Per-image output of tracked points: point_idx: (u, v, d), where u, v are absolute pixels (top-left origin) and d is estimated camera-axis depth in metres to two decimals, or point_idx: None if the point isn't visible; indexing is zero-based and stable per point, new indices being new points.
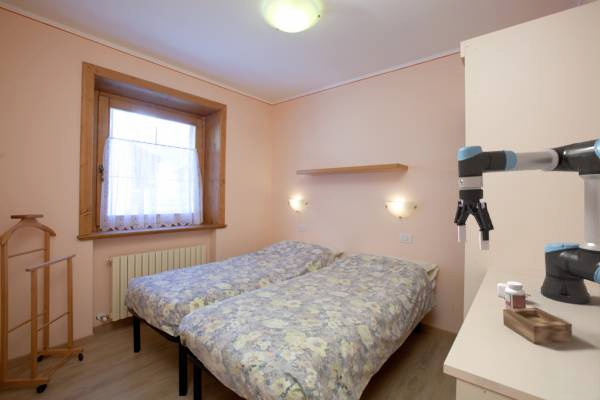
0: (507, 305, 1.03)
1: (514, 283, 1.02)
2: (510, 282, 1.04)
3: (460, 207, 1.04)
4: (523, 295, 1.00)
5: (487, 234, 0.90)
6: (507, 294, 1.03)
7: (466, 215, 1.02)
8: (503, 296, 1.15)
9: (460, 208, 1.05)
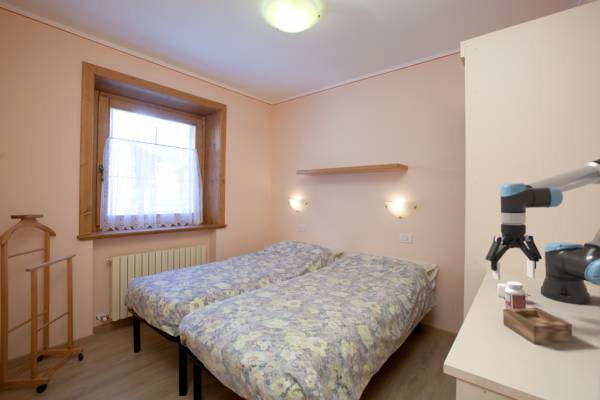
0: (507, 305, 1.03)
1: (514, 283, 1.02)
2: (510, 282, 1.04)
3: (526, 241, 1.03)
4: (523, 295, 1.00)
5: (492, 265, 1.02)
6: (507, 294, 1.03)
7: (523, 249, 1.02)
8: (503, 296, 1.15)
9: (526, 242, 1.03)
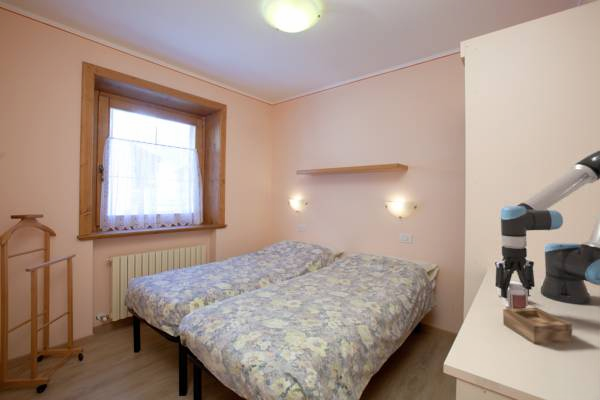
0: None
1: (514, 283, 1.02)
2: (510, 282, 1.04)
3: (525, 266, 1.04)
4: (523, 295, 1.00)
5: (503, 292, 1.03)
6: None
7: (520, 274, 1.03)
8: None
9: (525, 267, 1.04)
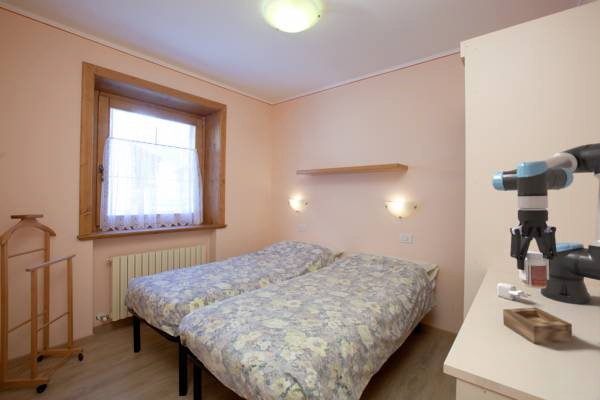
0: None
1: (533, 253, 0.87)
2: (528, 252, 0.89)
3: (545, 232, 0.88)
4: (544, 266, 0.85)
5: (519, 263, 0.87)
6: None
7: (540, 242, 0.87)
8: (503, 296, 1.15)
9: (546, 234, 0.88)
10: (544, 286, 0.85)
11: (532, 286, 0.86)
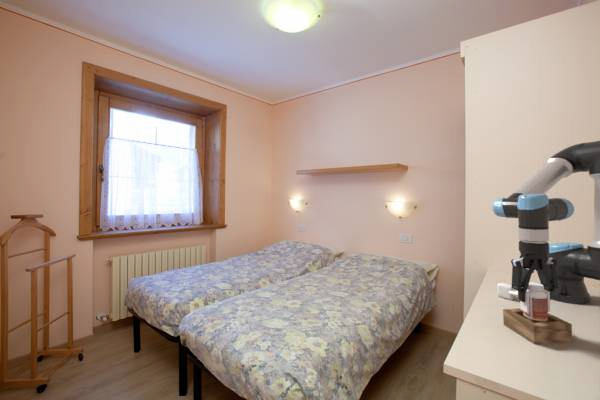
0: None
1: (534, 285, 0.87)
2: (529, 283, 0.89)
3: (546, 264, 0.88)
4: (545, 298, 0.85)
5: (520, 295, 0.87)
6: None
7: (541, 273, 0.87)
8: (503, 296, 1.15)
9: (547, 265, 0.88)
10: (545, 319, 0.85)
11: (533, 319, 0.86)
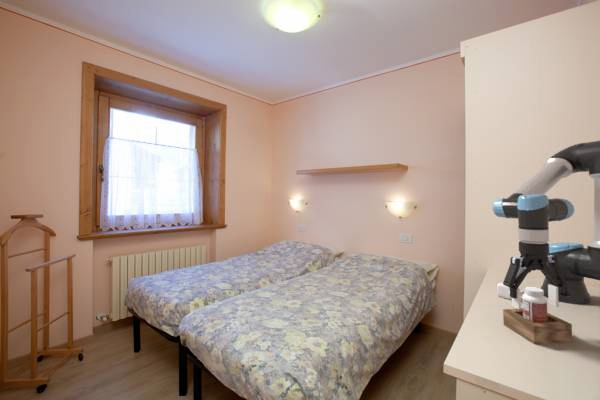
0: (525, 315, 0.88)
1: (534, 290, 0.87)
2: (528, 288, 0.89)
3: (548, 262, 0.88)
4: (545, 303, 0.85)
5: (512, 291, 0.87)
6: (525, 302, 0.88)
7: (545, 272, 0.87)
8: (503, 296, 1.15)
9: (549, 263, 0.88)
10: None
11: None
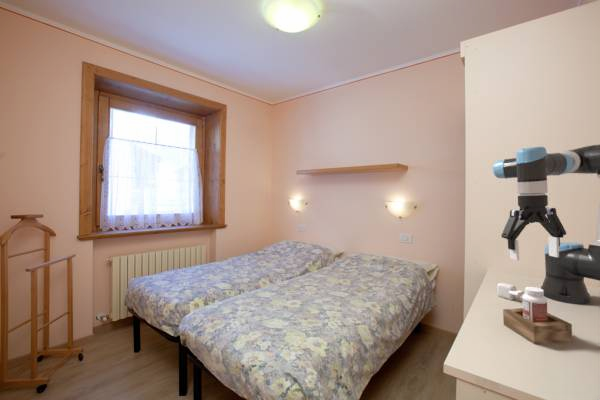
0: (525, 315, 0.88)
1: (534, 289, 0.87)
2: (529, 288, 0.89)
3: (547, 215, 0.89)
4: (545, 303, 0.85)
5: (510, 243, 0.88)
6: (525, 302, 0.88)
7: (544, 224, 0.88)
8: (503, 296, 1.15)
9: (548, 216, 0.89)
10: None
11: None
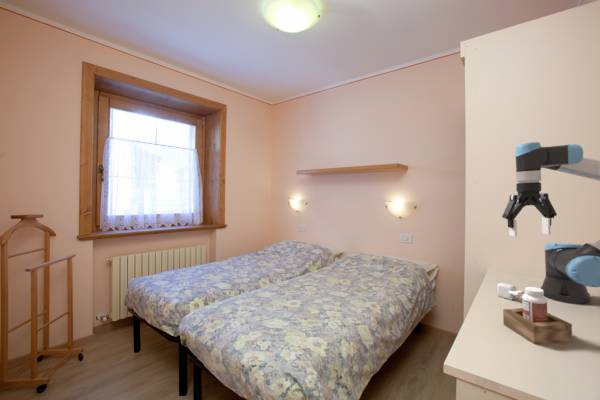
0: (525, 315, 0.88)
1: (534, 290, 0.87)
2: (528, 288, 0.89)
3: (541, 199, 1.07)
4: (545, 303, 0.85)
5: (509, 222, 1.06)
6: (525, 302, 0.88)
7: (538, 207, 1.06)
8: (503, 296, 1.15)
9: (541, 200, 1.07)
10: None
11: None
